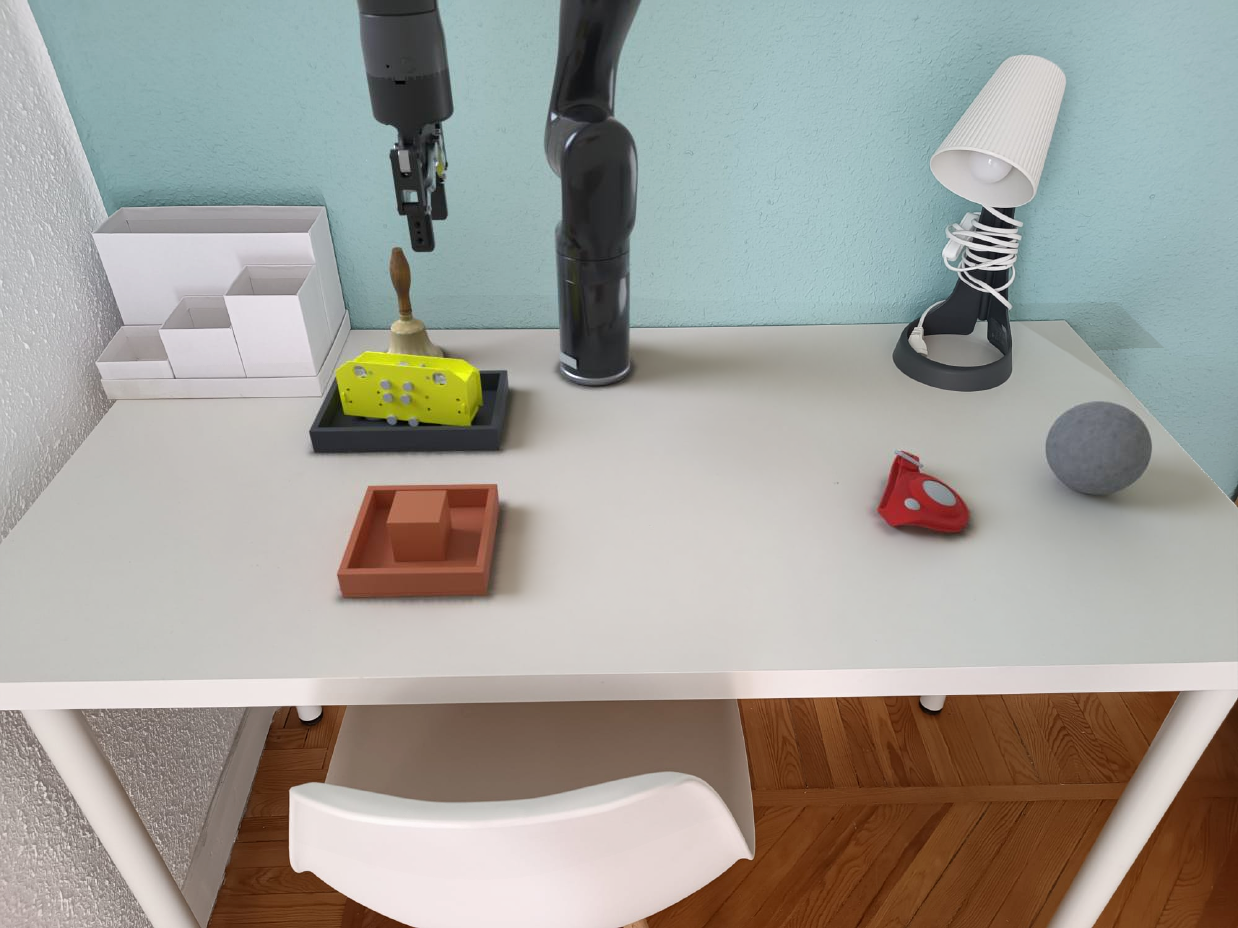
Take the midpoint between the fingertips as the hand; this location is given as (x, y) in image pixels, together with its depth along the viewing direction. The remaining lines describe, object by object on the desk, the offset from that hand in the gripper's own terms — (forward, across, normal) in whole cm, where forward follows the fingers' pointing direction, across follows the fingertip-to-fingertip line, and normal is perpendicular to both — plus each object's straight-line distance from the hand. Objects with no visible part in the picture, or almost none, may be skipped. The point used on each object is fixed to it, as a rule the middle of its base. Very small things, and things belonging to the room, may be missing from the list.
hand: (431, 234), depth 89 cm
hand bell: (+25, -19, -9) cm, 33 cm away
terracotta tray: (+25, +20, -1) cm, 32 cm away
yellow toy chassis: (+25, -4, -6) cm, 26 cm away
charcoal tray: (+25, -4, -6) cm, 26 cm away
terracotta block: (+25, +20, -1) cm, 32 cm away
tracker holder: (+26, +14, +51) cm, 59 cm away
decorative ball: (+26, +10, +70) cm, 76 cm away
